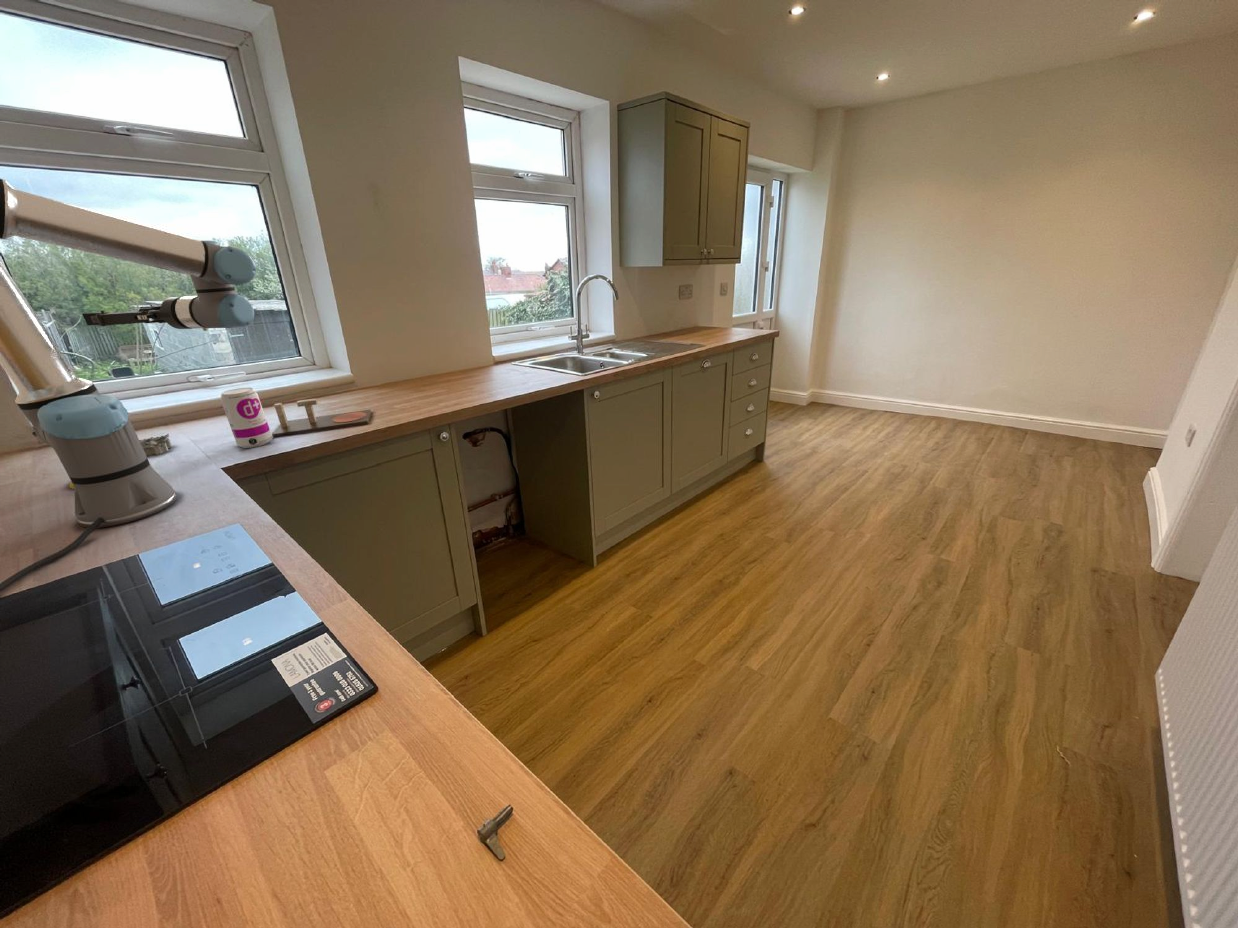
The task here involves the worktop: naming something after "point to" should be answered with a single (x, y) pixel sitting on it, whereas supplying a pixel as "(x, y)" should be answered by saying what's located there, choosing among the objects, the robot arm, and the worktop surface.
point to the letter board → (317, 420)
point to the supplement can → (246, 417)
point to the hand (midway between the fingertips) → (116, 315)
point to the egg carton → (156, 445)
